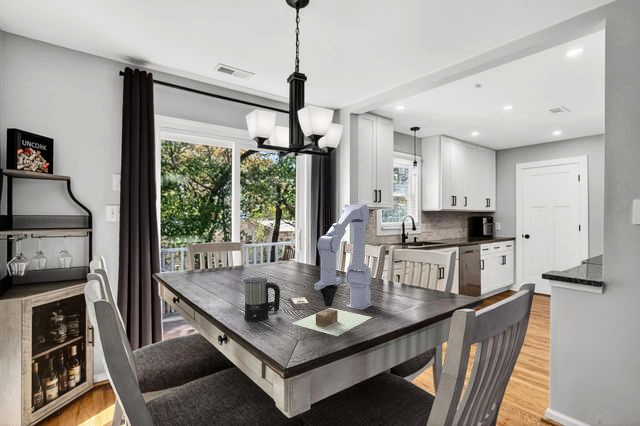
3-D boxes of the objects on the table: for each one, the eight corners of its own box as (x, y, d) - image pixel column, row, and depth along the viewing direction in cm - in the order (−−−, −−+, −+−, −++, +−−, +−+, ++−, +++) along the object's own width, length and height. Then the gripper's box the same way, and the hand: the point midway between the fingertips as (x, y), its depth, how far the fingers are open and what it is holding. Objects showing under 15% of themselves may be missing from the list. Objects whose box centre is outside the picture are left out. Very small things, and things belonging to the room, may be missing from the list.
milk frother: (245, 323, 120) (245, 282, 120) (240, 310, 135) (240, 274, 135) (283, 318, 125) (283, 279, 125) (274, 307, 140) (274, 272, 140)
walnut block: (328, 308, 123) (315, 313, 117) (337, 310, 121) (324, 315, 114) (328, 319, 123) (315, 325, 117) (337, 321, 121) (324, 327, 114)
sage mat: (329, 308, 137) (329, 307, 137) (372, 318, 125) (372, 317, 125) (291, 324, 118) (291, 323, 118) (337, 337, 106) (337, 336, 106)
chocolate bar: (295, 309, 134) (288, 298, 152) (295, 312, 134) (288, 300, 152) (316, 308, 137) (307, 297, 154) (316, 310, 137) (307, 299, 154)
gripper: (325, 272, 111) (325, 312, 111) (348, 267, 123) (348, 303, 123) (309, 270, 115) (309, 309, 115) (332, 265, 127) (332, 300, 127)
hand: (328, 305), depth 119 cm, fingers closed
